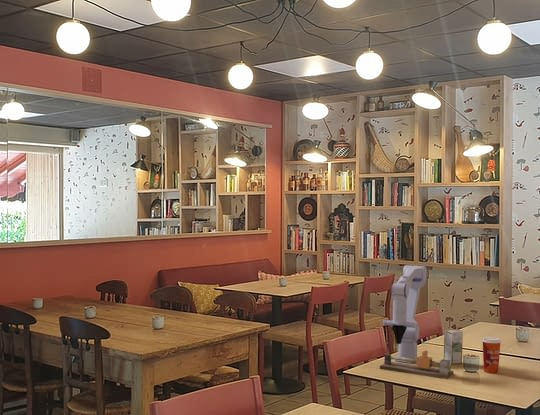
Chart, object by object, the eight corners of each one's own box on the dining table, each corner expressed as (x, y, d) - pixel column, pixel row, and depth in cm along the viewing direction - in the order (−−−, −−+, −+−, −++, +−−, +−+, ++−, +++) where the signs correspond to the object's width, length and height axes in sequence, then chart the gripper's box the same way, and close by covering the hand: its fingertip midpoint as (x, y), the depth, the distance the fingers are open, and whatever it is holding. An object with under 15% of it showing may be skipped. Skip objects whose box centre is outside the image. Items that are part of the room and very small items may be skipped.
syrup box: (454, 360, 290) (454, 328, 290) (462, 363, 284) (463, 330, 284) (443, 361, 288) (443, 328, 288) (451, 364, 282) (452, 331, 282)
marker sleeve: (420, 365, 270) (420, 349, 270) (432, 366, 267) (432, 351, 267) (417, 366, 267) (417, 351, 267) (429, 368, 264) (429, 353, 264)
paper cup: (488, 374, 266) (488, 340, 266) (477, 370, 273) (478, 336, 273) (504, 373, 268) (505, 339, 268) (493, 369, 275) (494, 336, 275)
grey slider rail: (388, 364, 280) (388, 350, 281) (453, 373, 266) (453, 359, 266) (379, 368, 272) (380, 354, 272) (446, 378, 257) (446, 363, 257)
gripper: (380, 310, 277) (379, 342, 276) (413, 313, 269) (412, 346, 269) (386, 309, 283) (385, 340, 282) (418, 312, 275) (417, 344, 275)
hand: (398, 343), depth 276 cm, fingers closed
